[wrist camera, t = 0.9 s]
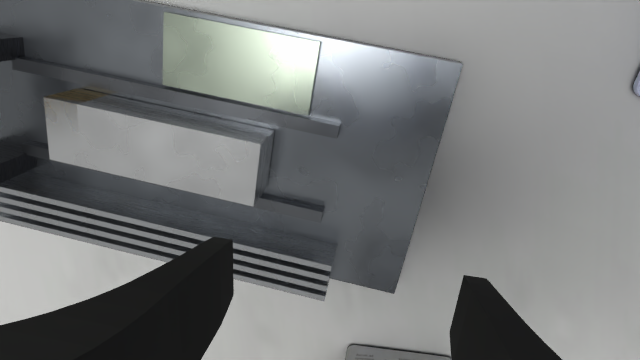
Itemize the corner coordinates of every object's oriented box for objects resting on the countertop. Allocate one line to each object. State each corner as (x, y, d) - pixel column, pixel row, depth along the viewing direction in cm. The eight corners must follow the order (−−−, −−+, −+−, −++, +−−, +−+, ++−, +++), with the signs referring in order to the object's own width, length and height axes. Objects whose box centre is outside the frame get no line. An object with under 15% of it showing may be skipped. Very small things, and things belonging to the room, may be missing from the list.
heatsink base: (459, 61, 18) (479, 77, 14) (394, 282, 23) (394, 343, 19) (-56, -38, 20) (-173, -50, 16) (-17, 183, 25) (-100, 218, 21)
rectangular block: (274, 130, 20) (260, 144, 18) (267, 187, 21) (253, 206, 19) (77, 88, 20) (43, 96, 18) (81, 145, 22) (49, 159, 20)
